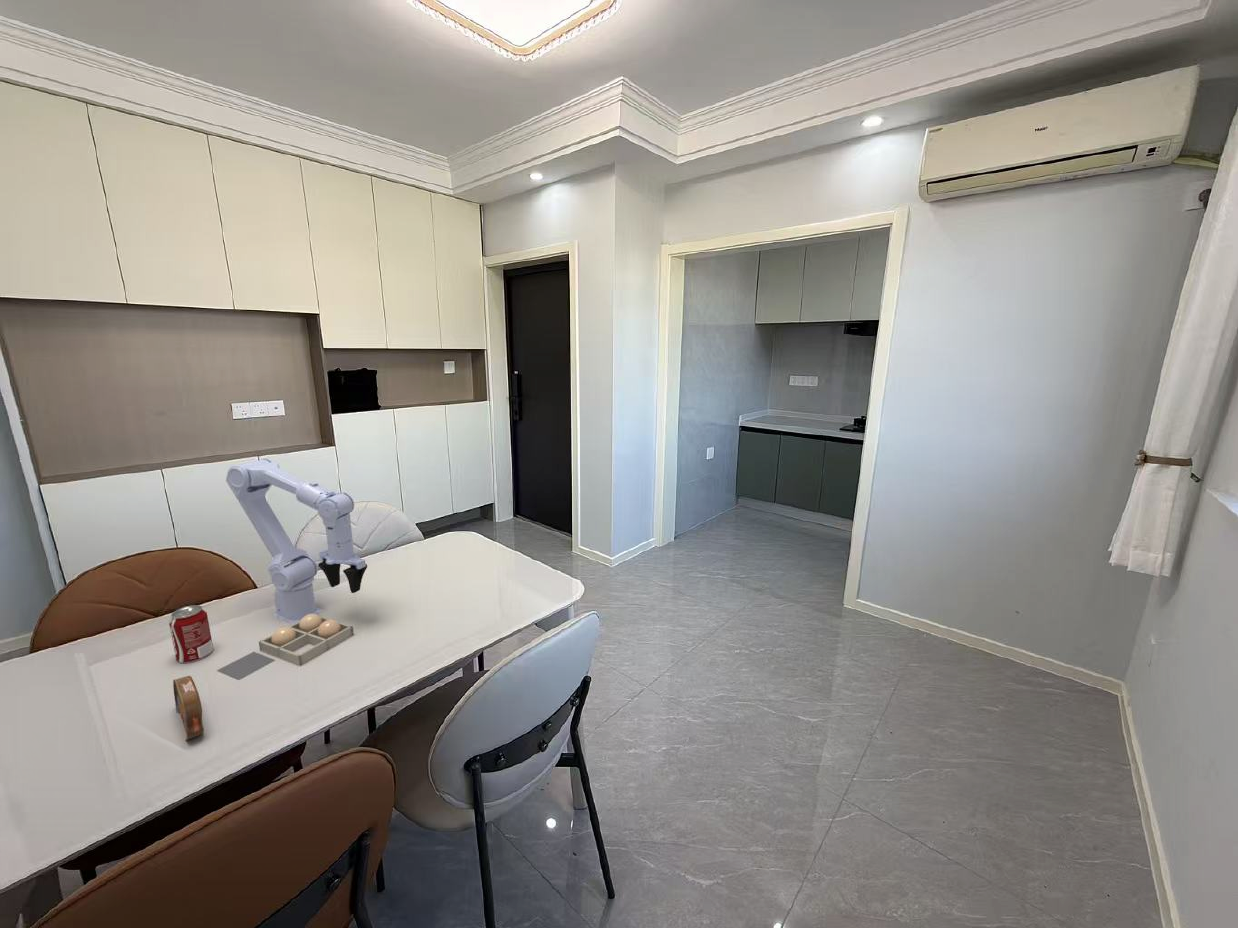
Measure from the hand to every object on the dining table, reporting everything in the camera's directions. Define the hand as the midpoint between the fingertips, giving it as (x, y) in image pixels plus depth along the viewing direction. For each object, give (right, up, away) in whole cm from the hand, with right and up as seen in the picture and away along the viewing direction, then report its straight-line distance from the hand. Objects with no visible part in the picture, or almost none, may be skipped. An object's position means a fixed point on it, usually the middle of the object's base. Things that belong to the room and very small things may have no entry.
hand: (345, 588), depth 132 cm
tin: (-11, -18, -35) cm, 41 cm away
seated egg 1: (-6, -10, -4) cm, 13 cm away
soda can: (-28, -13, -14) cm, 34 cm away
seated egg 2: (0, -11, -6) cm, 13 cm away
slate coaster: (-13, -14, -17) cm, 26 cm away
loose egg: (-9, -12, -10) cm, 18 cm away
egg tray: (-5, -12, -8) cm, 15 cm away
